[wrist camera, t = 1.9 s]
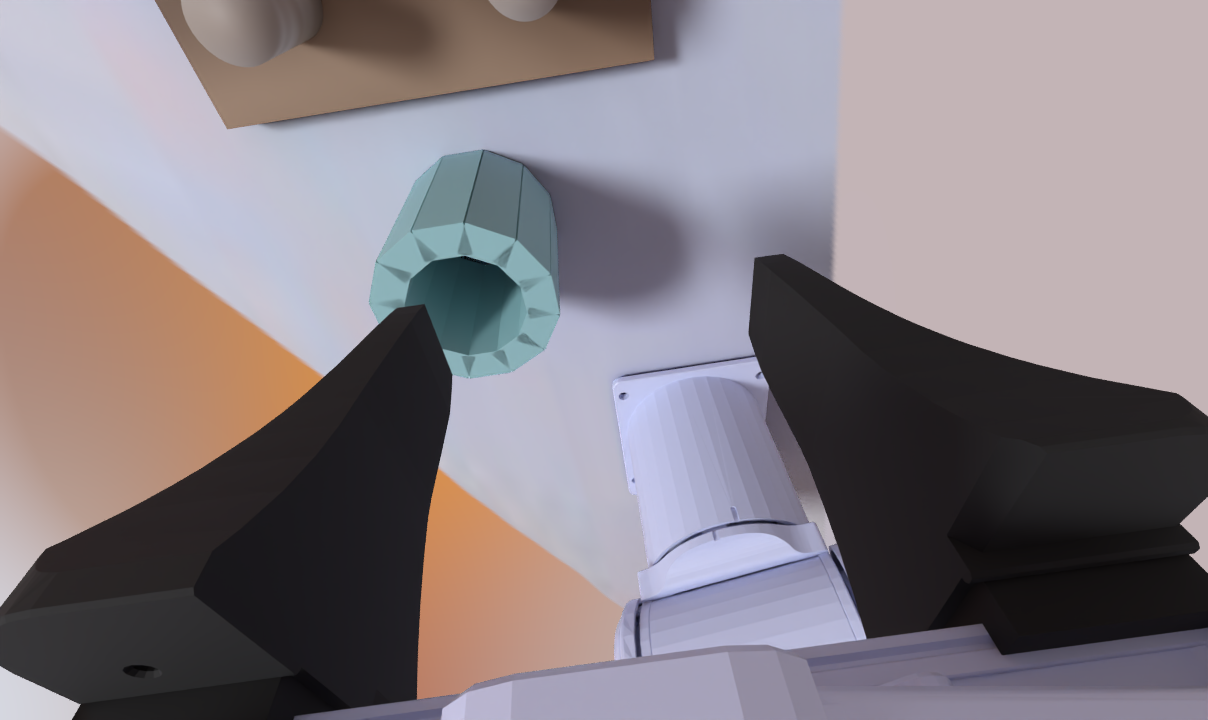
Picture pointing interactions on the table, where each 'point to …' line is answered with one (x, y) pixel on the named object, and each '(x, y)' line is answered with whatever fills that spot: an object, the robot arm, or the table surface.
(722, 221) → the table surface
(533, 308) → the sleeve
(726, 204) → the table surface
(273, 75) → the pin board
